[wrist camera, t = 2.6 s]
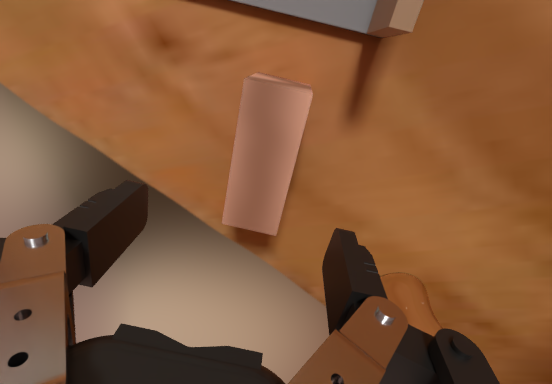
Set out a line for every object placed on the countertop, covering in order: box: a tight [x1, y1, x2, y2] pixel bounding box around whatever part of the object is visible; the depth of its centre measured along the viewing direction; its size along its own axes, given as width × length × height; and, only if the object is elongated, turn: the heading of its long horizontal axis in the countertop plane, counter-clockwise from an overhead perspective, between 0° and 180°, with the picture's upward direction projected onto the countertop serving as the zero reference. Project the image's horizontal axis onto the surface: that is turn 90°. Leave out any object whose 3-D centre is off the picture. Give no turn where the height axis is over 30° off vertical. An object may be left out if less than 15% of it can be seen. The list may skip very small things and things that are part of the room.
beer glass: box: [380, 273, 443, 336], centre depth 23 cm, size 7×7×15 cm
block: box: [222, 72, 313, 236], centre depth 21 cm, size 4×10×6 cm, turn 168°
